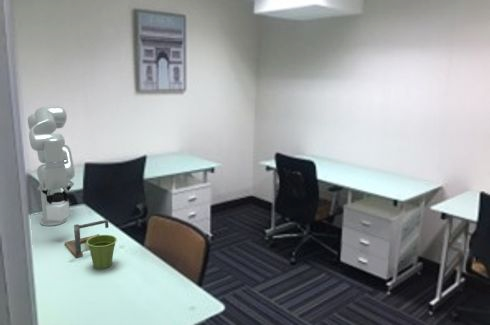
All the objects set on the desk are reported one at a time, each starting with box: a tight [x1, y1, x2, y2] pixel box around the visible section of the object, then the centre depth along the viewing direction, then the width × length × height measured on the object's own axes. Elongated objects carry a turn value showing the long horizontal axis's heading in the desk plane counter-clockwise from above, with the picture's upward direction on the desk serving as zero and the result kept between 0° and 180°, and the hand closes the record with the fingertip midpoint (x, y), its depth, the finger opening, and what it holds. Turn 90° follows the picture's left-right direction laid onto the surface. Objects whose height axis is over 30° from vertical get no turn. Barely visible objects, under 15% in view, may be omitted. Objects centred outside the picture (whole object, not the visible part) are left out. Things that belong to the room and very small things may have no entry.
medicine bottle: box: [46, 191, 70, 221], centre depth 187 cm, size 7×7×12 cm
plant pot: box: [87, 234, 118, 270], centre depth 167 cm, size 12×12×11 cm
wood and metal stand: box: [63, 219, 109, 259], centre depth 183 cm, size 16×16×14 cm
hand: (57, 201), depth 186 cm, fingers closed on medicine bottle, 6 cm apart
